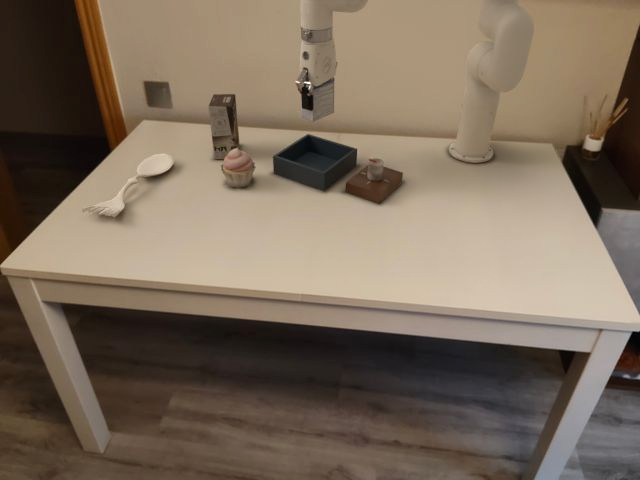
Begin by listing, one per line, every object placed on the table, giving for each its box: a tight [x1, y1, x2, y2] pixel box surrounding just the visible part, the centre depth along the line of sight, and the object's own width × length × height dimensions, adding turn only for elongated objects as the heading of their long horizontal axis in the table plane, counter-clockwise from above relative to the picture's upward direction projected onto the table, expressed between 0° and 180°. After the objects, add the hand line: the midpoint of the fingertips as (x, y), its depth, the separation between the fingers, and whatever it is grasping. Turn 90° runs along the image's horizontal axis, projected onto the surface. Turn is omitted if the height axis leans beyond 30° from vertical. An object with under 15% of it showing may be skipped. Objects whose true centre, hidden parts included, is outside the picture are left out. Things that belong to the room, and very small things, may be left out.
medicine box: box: [300, 80, 335, 123], centre depth 140 cm, size 8×4×9 cm, turn 135°
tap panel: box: [344, 164, 404, 205], centre depth 143 cm, size 13×10×3 cm
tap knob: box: [367, 157, 385, 181], centre depth 141 cm, size 4×4×5 cm
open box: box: [272, 133, 358, 192], centre depth 150 cm, size 17×17×5 cm
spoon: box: [82, 153, 174, 218], centre depth 141 cm, size 9×32×4 cm, turn 164°
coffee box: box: [208, 93, 241, 160], centre depth 155 cm, size 9×6×16 cm
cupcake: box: [220, 148, 257, 189], centre depth 143 cm, size 9×9×10 cm
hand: (317, 102), depth 140 cm, fingers closed on medicine box, 8 cm apart
